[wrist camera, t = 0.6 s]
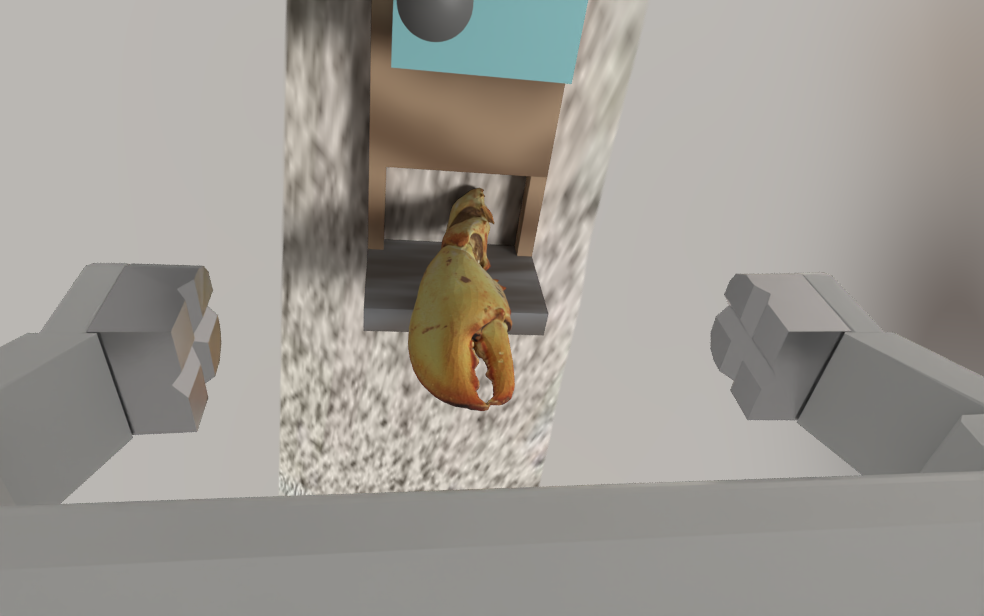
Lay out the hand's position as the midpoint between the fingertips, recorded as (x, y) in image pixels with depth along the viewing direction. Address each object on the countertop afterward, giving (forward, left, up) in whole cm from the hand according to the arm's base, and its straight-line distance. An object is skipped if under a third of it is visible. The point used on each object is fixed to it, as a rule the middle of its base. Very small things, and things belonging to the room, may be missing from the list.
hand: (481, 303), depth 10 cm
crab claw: (+19, +4, -37) cm, 42 cm away
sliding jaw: (+2, +4, -35) cm, 36 cm away
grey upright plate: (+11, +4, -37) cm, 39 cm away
